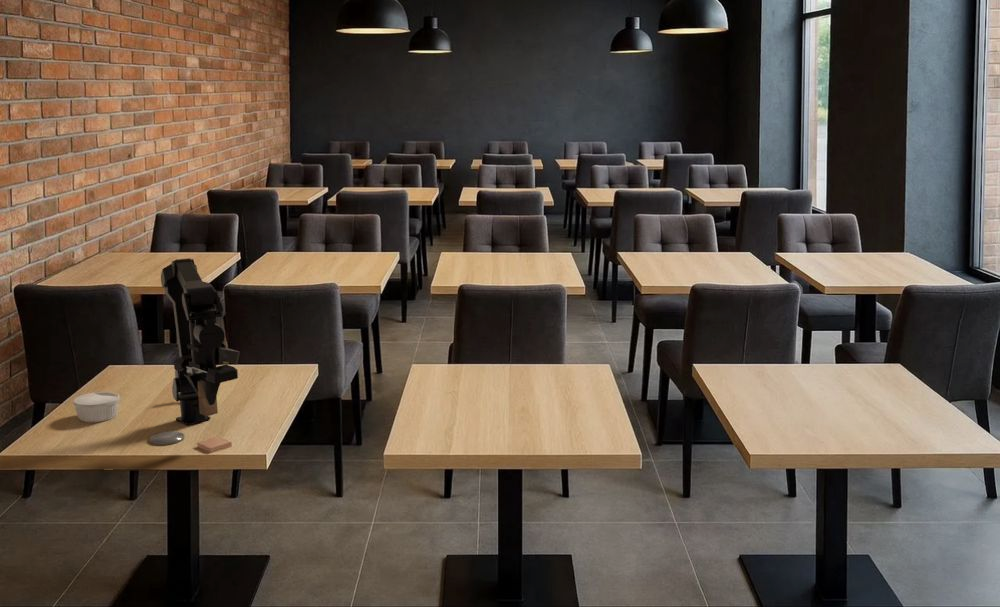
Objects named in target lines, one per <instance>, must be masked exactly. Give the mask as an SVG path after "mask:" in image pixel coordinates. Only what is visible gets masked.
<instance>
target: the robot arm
mask: <svg viewBox="0 0 1000 607" xmlns="http://www.w3.org/2000/svg"><path fill="white" fill-rule="evenodd" d="M160 282H161V283H160V284H161V287H162V288H163V289H164V293H165V296H166V297H167V298H168V299H169V301H170V302H171V303H172V305H173V306H172V307H173V313H174V314H173V315H174V324H175V330H176V337H177V347H178V354H179V356H177V357H176V358H175V360H173V368H174V370H175V371H174V376H175V377H173V381H172V387H171V389H172V397H173V399H174V400H175V402H179V404H180V405H179V406H180V416H179V417H176V418H175V420H176V421H178V422H180V423H183V424H185V425H188V426H190V425H196V424H198V423H202V422H205V421H208V420H211V416H204V415H202V414H200V410H199V398H198V385H197V381H200V382H201V384H202V387H203V390H204V392H205V395H206V398H207V400H208V402H209V405H213V404H214V403H215V400H216V396H217V395H218V391H219V388H220V385H221V383H226V382H230V381H232V380H233V381H234V380H237V379H239V371H238V369H237V368H236V367H235V366H232V365H229V364H224V363H231V364H233V365H238V361H239V357H240V353H241V352H240V350H239V351H238V350H235V349H232V348H229V347H226V344H225V343H224V341H225V338H226V336H225V335H226V334H225V331H224V329H223V328H222V327H221V326H220V325H219V324H218V323H217V320H216V319H217V318H222V317H223V312H224V307H223V303H222V300H221V297H220V294H219V293H218V291H217V290H216V289H215V288H214V286H213V285H212V284H211V283H210V282H208V281H207V282H206V281H203V279H202V278H201V276H200V274H199V272H198V266H197V265H196V264H195V261H194V259H193V258H179V259H178V258H177V259H176V258H175V260H171V262H170V264H169V265H166V266H165V267H163V268H162V270H161V272H160Z"/></svg>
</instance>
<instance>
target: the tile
mask: <svg viewBox="0 0 1000 607" xmlns="http://www.w3.org/2000/svg"><path fill="white" fill-rule="evenodd" d="M196 445H197V448H199V449H201V450H203V451H206V452H208V453H210V452H211V453H216V452H219V451H223V450H225V449H228V448H232V447H233V446H232V441H231V440H228V439H226V438H223V437H221V436H218V435H216V436H212V437H210V438H207V439H203V440H201V441H197V444H196Z"/></svg>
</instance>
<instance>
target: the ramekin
mask: <svg viewBox="0 0 1000 607" xmlns="http://www.w3.org/2000/svg"><path fill="white" fill-rule="evenodd" d="M120 400H121V397H120V395H119V394H118V393H116V392H109V391H98V392H97V391H96V392H89V393H85V394H81V395H79V396H77V397H75V398H74V399H73V400H72V402H73V406H74V407H75V412H76V415H77V417H78V419H79V420H80V421H81V422H83V421H84V423H101V422H102V423H103V422H106V421H109V420H112V419H114V418H116V417H117V415H118V414H119V406H120V405H119V404H120Z"/></svg>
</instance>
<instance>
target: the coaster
mask: <svg viewBox="0 0 1000 607" xmlns="http://www.w3.org/2000/svg"><path fill="white" fill-rule="evenodd" d="M184 439H185V433H183V432H181V431H164V432H163V431H162V432H159V433H156V434H154V435H151V436H150V437H149V442H150V444H152V445H154V444H156V446H169V445H174V443H175V444H178V443H180V442H182V441H184Z"/></svg>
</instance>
